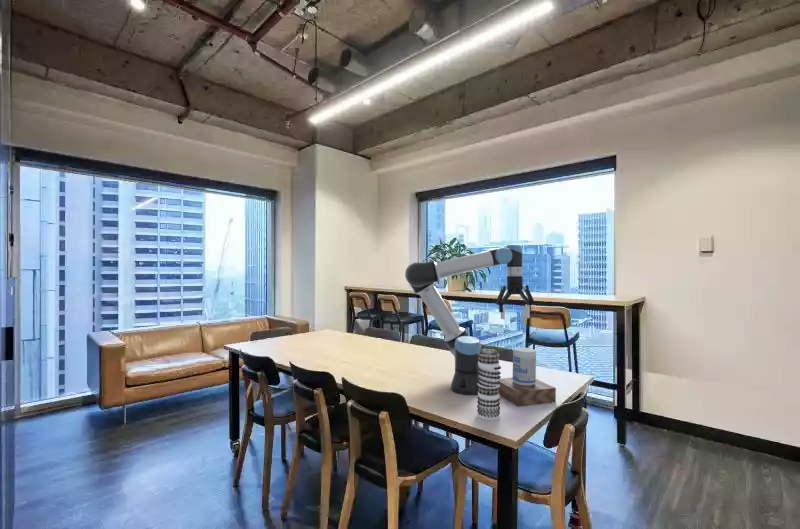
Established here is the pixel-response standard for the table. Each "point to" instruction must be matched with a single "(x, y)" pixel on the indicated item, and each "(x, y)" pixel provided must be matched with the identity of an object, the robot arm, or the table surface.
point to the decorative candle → (488, 384)
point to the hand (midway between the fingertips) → (515, 318)
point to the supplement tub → (524, 366)
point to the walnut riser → (526, 392)
